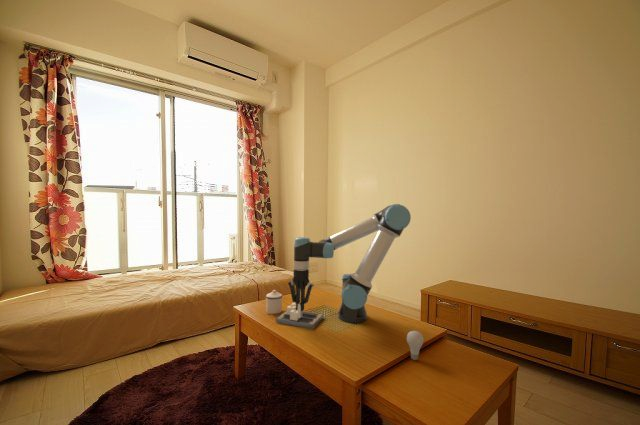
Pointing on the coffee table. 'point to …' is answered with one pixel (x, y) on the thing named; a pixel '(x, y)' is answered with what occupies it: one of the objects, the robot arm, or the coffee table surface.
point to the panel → (301, 320)
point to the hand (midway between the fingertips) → (299, 316)
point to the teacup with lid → (273, 302)
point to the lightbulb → (414, 343)
